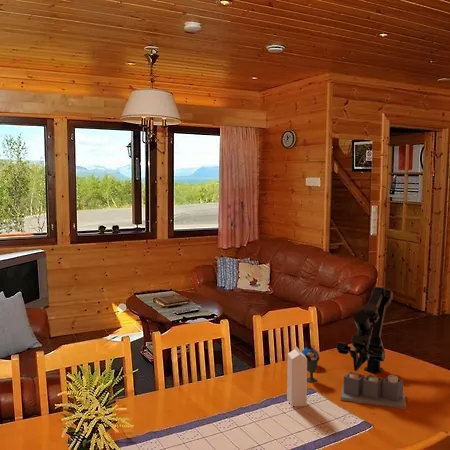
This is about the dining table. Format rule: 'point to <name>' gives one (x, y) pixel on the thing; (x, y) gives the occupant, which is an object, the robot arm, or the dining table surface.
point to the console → (373, 391)
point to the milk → (297, 378)
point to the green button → (373, 379)
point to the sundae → (312, 364)
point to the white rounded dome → (393, 379)
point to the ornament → (309, 350)
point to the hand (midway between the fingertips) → (355, 370)
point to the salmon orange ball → (354, 375)
